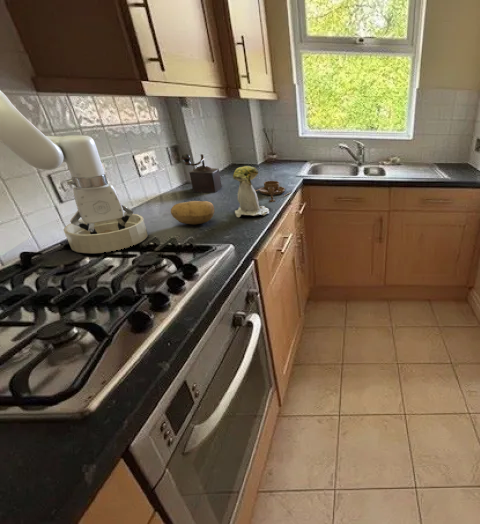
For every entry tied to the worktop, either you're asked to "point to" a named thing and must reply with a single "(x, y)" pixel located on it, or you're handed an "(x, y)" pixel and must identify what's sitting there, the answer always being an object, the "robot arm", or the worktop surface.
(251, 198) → the vase of yellow flowers
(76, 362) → the worktop surface
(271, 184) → the place setting
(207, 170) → the coffee grinder
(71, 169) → the robot arm
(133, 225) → the bowl
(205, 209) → the potato
